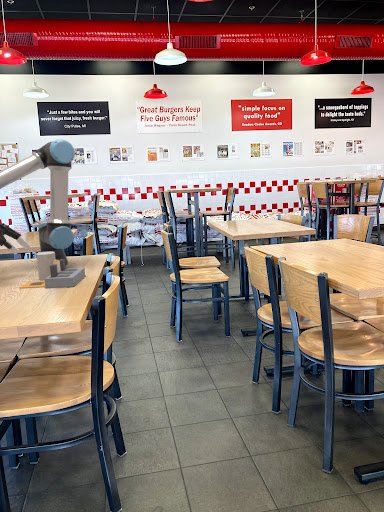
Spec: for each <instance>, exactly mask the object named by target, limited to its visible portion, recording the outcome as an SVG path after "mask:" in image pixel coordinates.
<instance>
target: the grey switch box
mask: <svg viewBox="0 0 384 512" xmlns="http://www.w3.org/2000/svg"><path fill="white" fill-rule="evenodd" d="M59 261H60V269H61V272H59V273H58V272H57V264H52V265H50V272H51V275H49V276H48V277H46V278H45V279H44V280H43V281H45V287H44V288H45V289H57V288H58V289H59V288H74V287H75V286H76V285H77V284H79V282H81V281H82V280H83V279H84V278H85V277H86V269H85V267H75V268H73V267H72V268H71V267H70V268H67V267H66V265H65V259H60V260H59Z"/></svg>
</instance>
